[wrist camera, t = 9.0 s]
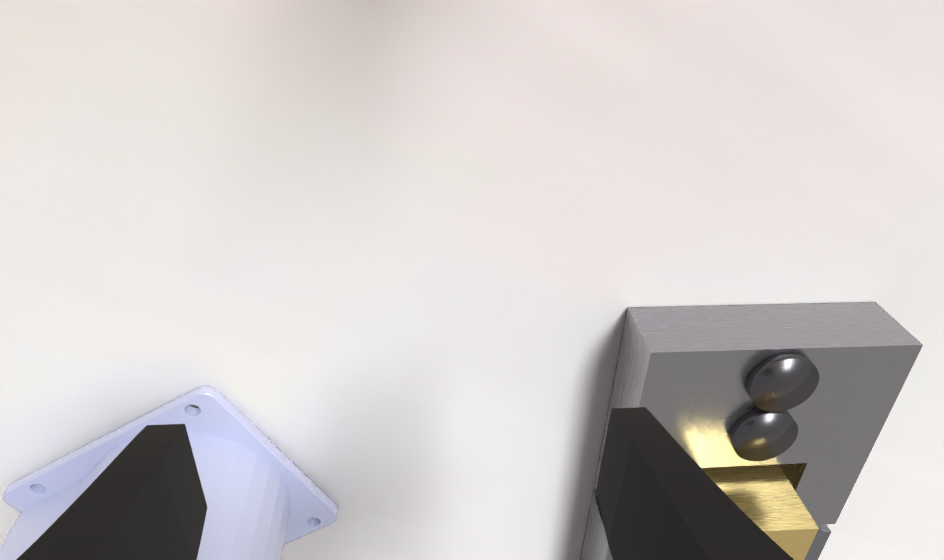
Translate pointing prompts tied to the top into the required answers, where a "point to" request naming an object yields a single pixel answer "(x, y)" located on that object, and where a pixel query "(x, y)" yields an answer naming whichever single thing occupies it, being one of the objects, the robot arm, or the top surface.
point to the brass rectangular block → (769, 504)
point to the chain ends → (765, 392)
